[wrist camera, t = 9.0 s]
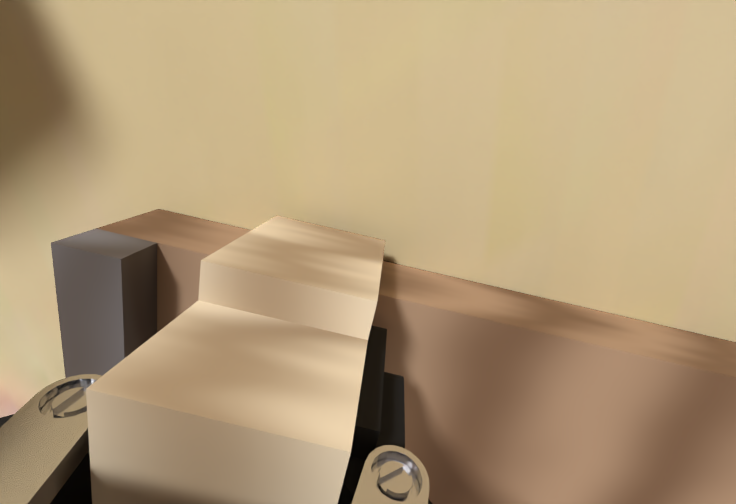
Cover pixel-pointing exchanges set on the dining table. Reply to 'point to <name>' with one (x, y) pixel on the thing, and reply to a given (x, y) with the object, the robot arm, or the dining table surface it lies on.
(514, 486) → the walnut board
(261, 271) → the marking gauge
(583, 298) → the dining table surface
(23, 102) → the dining table surface
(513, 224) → the dining table surface
